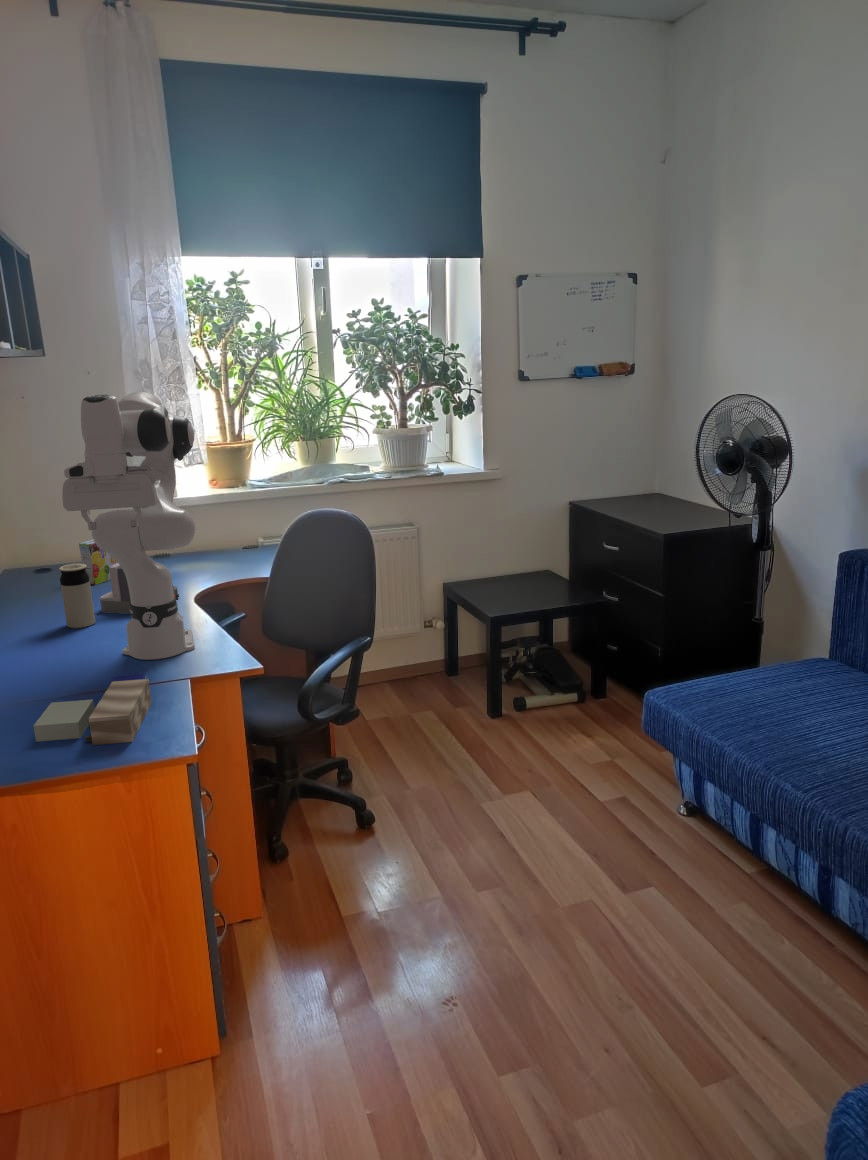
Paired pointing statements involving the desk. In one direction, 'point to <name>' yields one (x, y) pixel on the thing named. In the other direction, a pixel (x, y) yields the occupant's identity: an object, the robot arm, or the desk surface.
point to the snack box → (96, 562)
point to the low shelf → (120, 712)
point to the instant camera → (119, 592)
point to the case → (64, 720)
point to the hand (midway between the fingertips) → (114, 528)
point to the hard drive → (128, 677)
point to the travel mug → (77, 596)
